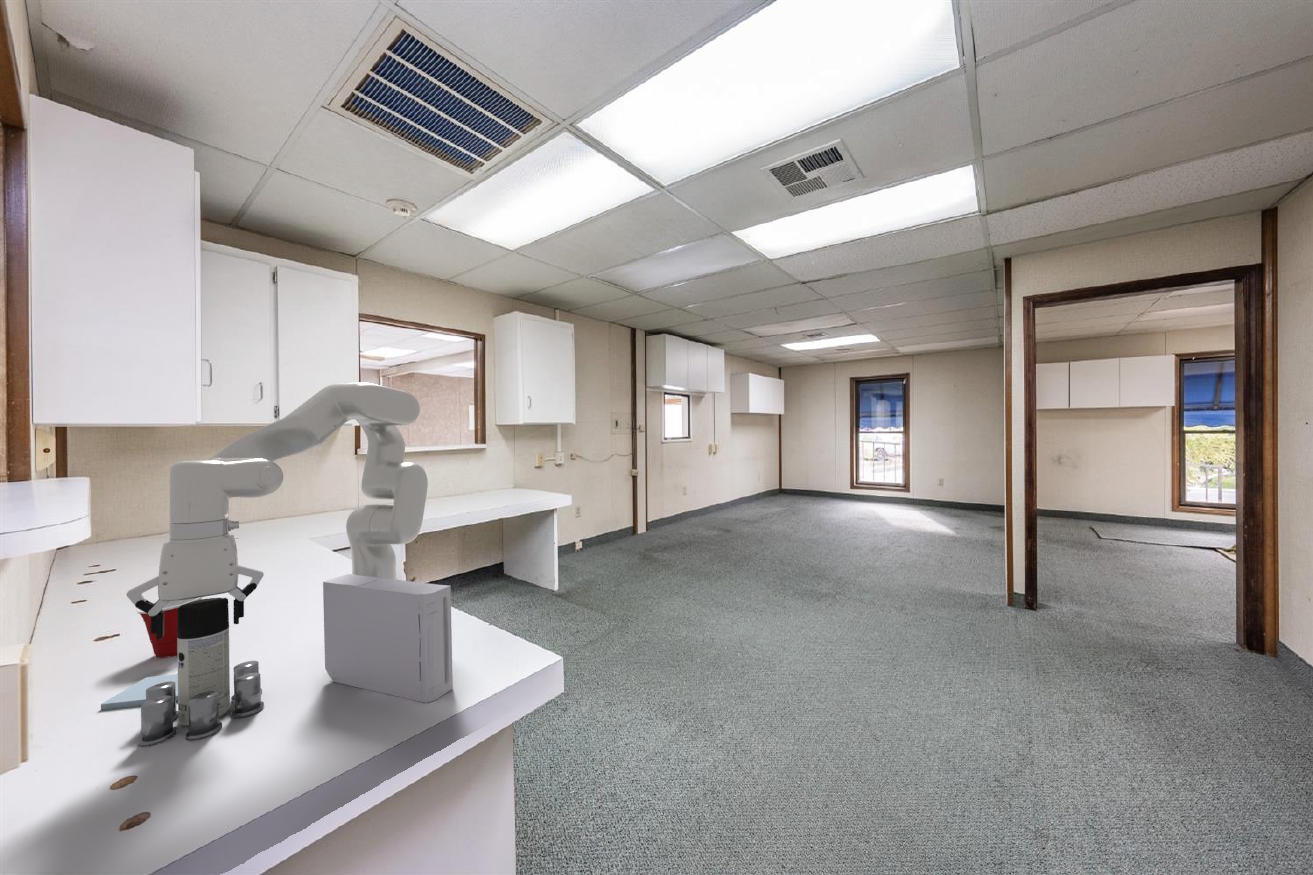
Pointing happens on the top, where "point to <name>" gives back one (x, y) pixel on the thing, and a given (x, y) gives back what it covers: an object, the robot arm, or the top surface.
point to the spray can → (203, 653)
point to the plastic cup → (166, 629)
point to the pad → (138, 692)
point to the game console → (389, 636)
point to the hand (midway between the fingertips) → (199, 629)
